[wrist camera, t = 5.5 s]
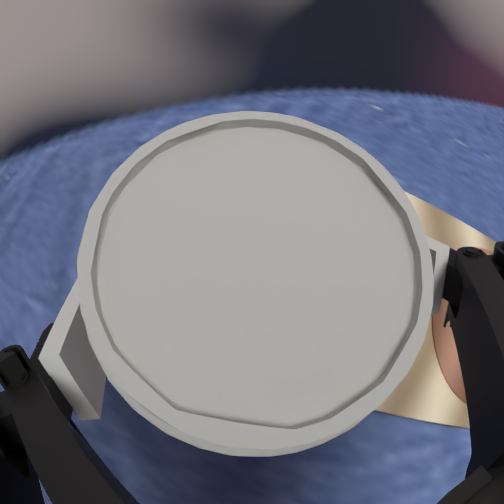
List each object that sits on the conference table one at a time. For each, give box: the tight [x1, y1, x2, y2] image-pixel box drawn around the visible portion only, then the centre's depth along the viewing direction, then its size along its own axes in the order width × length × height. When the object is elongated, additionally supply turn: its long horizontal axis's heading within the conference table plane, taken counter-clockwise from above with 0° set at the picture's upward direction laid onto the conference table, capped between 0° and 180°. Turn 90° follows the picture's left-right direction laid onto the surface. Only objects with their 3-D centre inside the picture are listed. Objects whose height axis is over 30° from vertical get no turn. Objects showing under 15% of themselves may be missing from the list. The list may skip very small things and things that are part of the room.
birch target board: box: [374, 191, 496, 429], centre depth 18 cm, size 20×16×1 cm
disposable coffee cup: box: [77, 111, 434, 457], centre depth 12 cm, size 10×10×12 cm
